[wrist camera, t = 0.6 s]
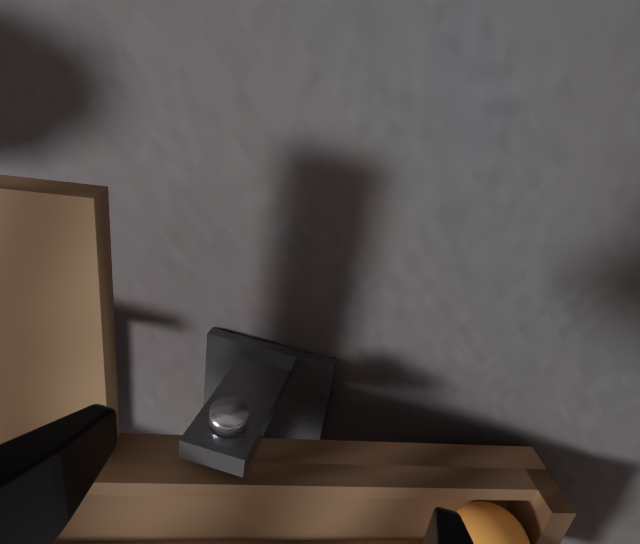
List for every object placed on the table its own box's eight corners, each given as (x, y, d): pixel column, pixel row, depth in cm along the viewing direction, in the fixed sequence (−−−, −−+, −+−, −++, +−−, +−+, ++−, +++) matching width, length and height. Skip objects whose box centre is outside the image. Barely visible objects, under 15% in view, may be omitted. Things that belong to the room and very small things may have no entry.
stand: (336, 356, 20) (298, 462, 15) (310, 492, 24) (271, 621, 18) (213, 323, 21) (131, 412, 16) (205, 460, 25) (136, 573, 19)
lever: (623, 244, 16) (702, 286, 13) (496, 524, 22) (531, 595, 19) (-86, 165, 12) (-192, 198, 10) (-6, 522, 18) (-57, 608, 16)
